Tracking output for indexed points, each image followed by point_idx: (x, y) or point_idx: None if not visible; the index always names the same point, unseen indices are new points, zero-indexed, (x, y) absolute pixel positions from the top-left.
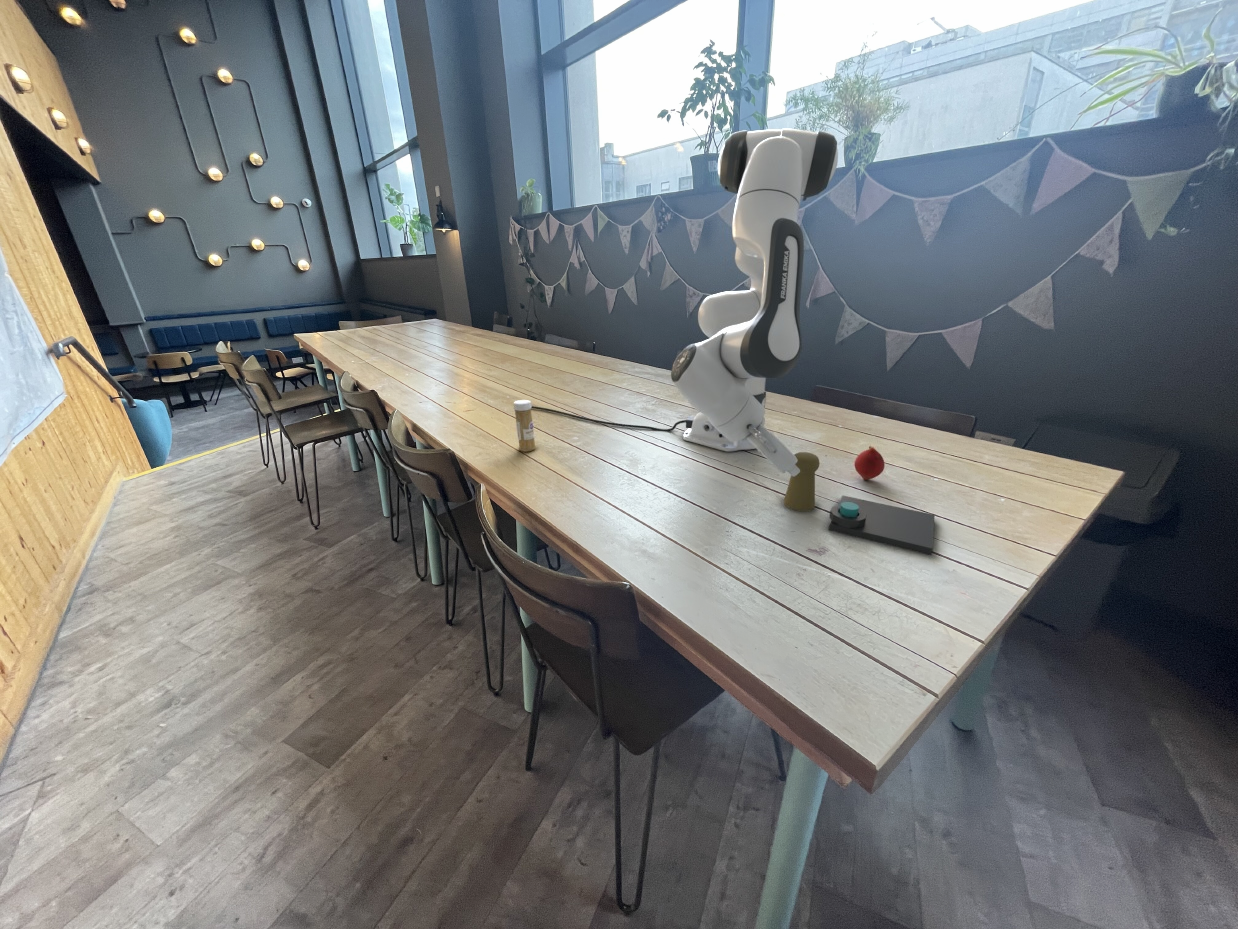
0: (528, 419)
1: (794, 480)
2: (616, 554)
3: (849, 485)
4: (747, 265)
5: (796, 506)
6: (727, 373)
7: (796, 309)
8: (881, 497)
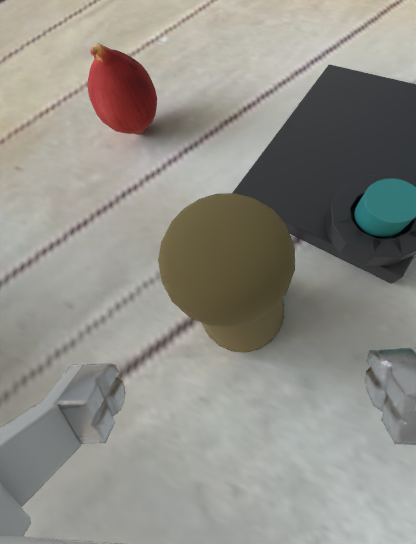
0: None
1: (253, 324)
2: None
3: (159, 166)
4: None
5: (277, 328)
6: None
7: None
8: (221, 128)
